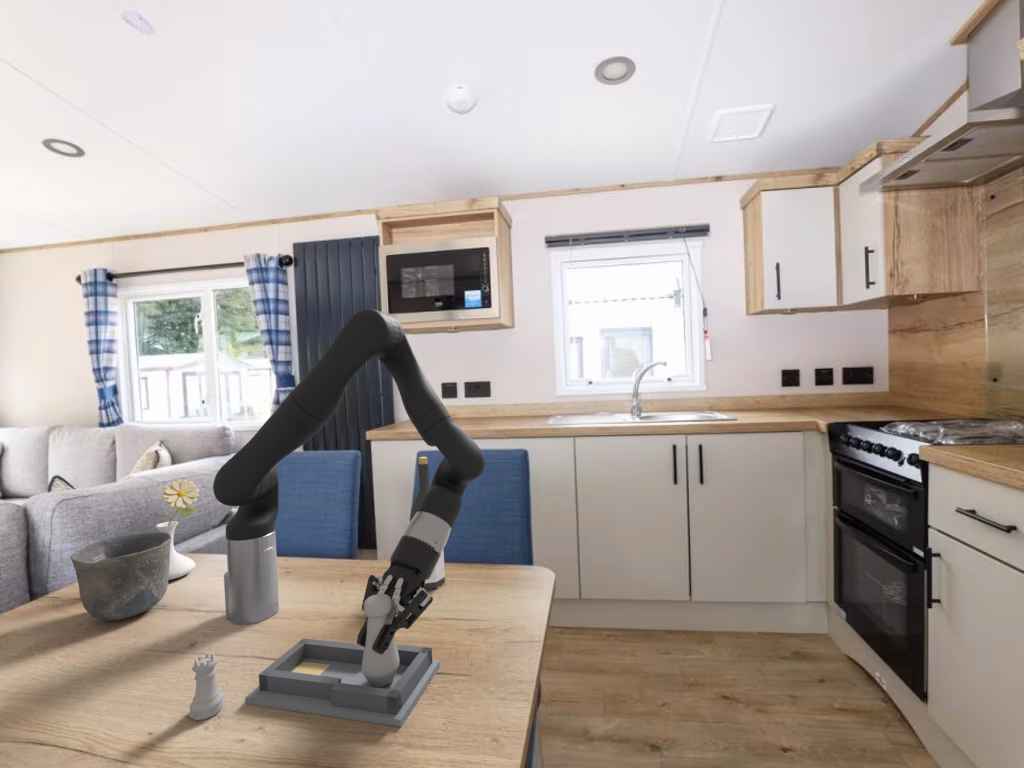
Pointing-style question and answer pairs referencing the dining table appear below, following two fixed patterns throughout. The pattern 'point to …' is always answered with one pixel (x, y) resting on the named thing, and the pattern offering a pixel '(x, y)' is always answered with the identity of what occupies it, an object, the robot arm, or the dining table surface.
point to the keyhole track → (343, 682)
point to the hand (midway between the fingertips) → (369, 648)
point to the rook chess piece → (205, 689)
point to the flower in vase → (178, 497)
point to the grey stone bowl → (123, 574)
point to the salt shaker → (374, 664)
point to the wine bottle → (438, 572)
